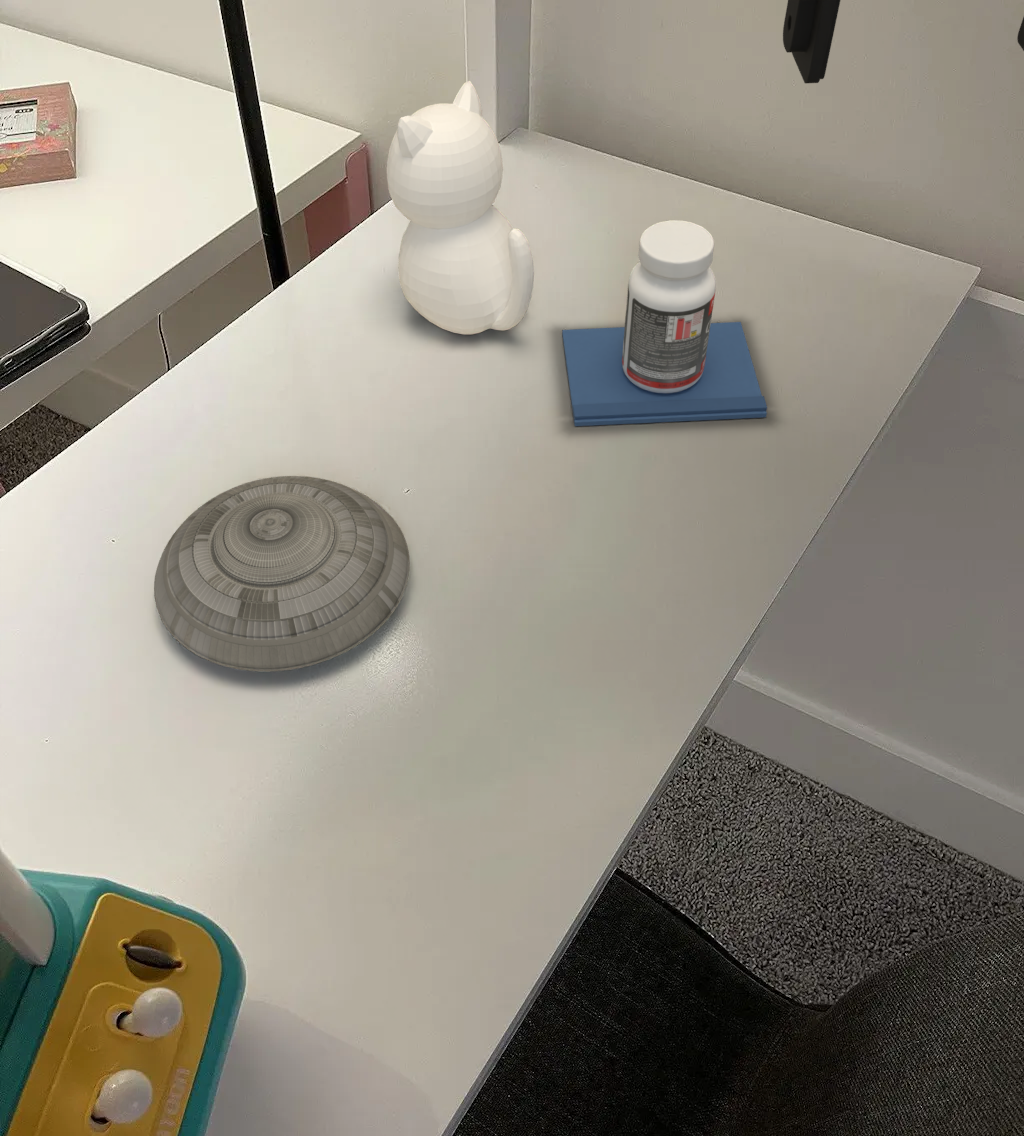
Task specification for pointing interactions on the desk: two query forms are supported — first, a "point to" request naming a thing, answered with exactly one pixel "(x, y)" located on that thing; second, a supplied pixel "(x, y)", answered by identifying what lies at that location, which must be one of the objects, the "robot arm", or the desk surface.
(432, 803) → the desk surface
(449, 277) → the cat figurine
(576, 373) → the cloth
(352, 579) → the flying saucer
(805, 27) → the robot arm
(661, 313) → the pill bottle
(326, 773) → the desk surface
